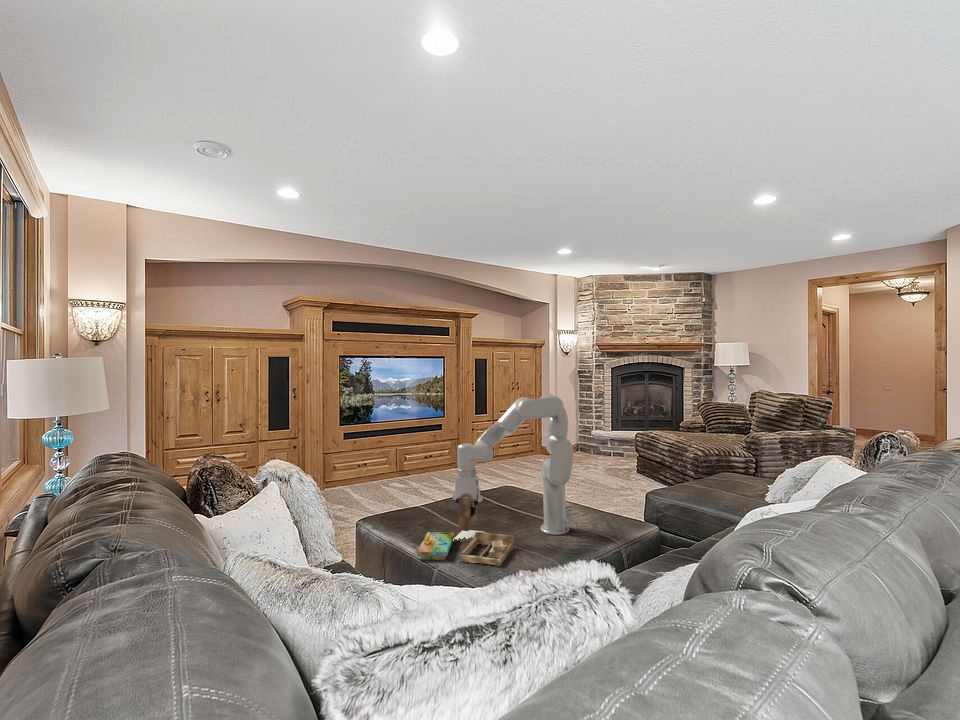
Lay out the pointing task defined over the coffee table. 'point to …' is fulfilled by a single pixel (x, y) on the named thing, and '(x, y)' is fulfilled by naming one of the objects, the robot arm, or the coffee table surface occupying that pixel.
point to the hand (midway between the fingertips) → (467, 514)
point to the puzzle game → (435, 546)
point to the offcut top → (497, 546)
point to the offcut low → (496, 554)
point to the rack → (487, 539)
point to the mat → (466, 534)
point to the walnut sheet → (465, 514)
